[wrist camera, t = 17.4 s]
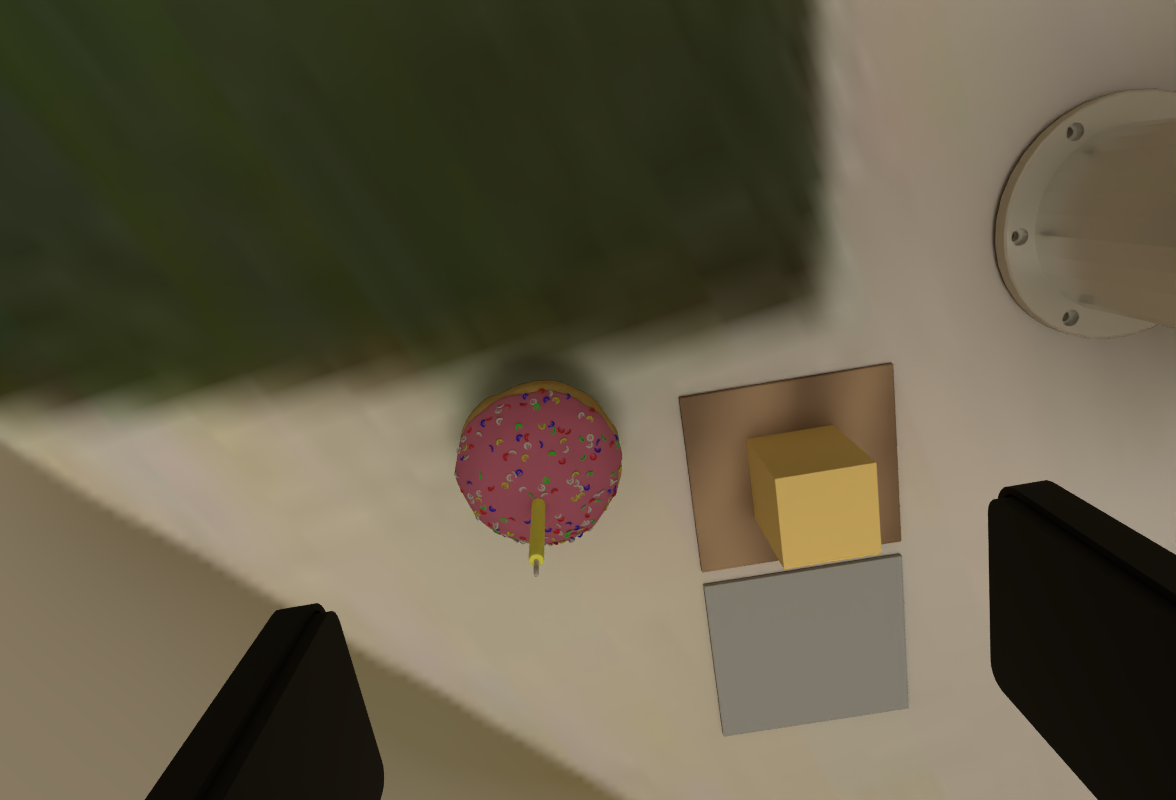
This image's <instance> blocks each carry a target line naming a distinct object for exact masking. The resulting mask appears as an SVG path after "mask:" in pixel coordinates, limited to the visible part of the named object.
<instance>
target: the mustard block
mask: <svg viewBox="0 0 1176 800" xmlns="http://www.w3.org/2000/svg"><path fill="white" fill-rule="evenodd" d="M746 442H747V451H748V460H749V469H750V478H751V487H752V496H753V505H754V514H755V519H756V521H757V523H758V525H759V526H760V528H761V530H762V532H763V533H764V535H765V537H766V539H767V540H768V542H769V544H770V546H771V547H772V549H773V551H774V553H775V554H776V556H777V558H778V560H779V561H780V563H781V565H782V567H783V568H784V569H789V568H795V567H801V566H807V565H813V564H820V563H826V562H832V561H838V560H844V559H851V558H857V557H863V556H869V555H876V554H882V551H881V534H880V517H879V499H878V482H877V465H876V462H875V461H874V460H873V459H872V458H871V457H869V456H868V455H867V454H866V453H865V452H864V451H863V450H861V449H860V448H859V447H858V446H857V445H856V444H855V443H854V442H852V441H851V440H850V439H849V438H848V437H847V436H846V435H844V434H843V433H842V432H841V431H840V430H839V429H838V428H836V427H835V426H834V425H829V426H823V427H817V428H811V429H805V430H799V431H793V432H787V433H781V434H775V435H768V436H762V437H756V438H750V439H746Z"/></svg>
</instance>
